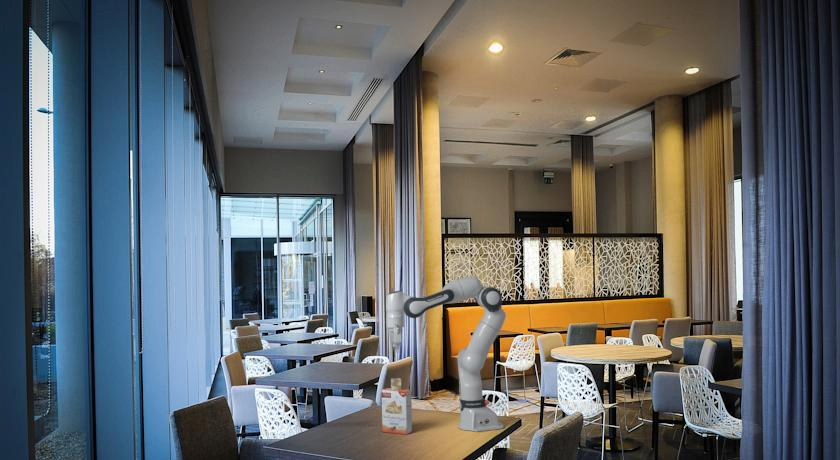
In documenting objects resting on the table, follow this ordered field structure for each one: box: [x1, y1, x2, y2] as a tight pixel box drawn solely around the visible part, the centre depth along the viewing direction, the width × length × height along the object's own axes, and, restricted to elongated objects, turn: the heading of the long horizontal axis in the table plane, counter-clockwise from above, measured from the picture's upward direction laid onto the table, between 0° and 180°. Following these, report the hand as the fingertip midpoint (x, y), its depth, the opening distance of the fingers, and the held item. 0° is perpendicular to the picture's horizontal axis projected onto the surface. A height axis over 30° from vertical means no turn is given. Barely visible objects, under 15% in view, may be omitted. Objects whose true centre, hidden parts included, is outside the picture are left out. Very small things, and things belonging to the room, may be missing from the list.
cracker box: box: [381, 387, 413, 435], centre depth 310 cm, size 14×6×21 cm, turn 62°
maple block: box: [390, 377, 402, 390], centre depth 311 cm, size 4×4×5 cm
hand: (396, 351), depth 313 cm, fingers open, 8 cm apart
